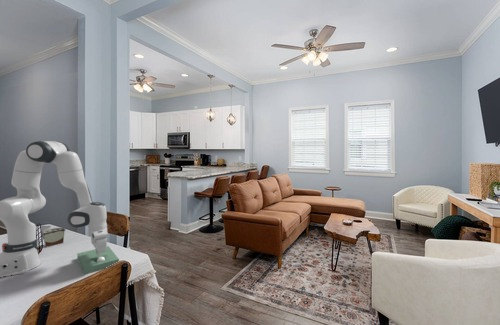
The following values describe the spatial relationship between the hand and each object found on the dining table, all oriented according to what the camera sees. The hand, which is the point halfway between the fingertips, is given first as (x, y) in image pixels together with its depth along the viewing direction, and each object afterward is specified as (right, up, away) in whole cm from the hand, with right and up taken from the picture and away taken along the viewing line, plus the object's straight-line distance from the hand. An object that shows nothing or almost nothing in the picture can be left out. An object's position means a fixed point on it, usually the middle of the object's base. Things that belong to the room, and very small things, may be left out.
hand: (98, 255), depth 134 cm
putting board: (-1, -4, +2) cm, 5 cm away
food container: (-47, -3, +26) cm, 54 cm away
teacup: (-65, -2, +36) cm, 75 cm away
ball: (+3, -2, -3) cm, 4 cm away
